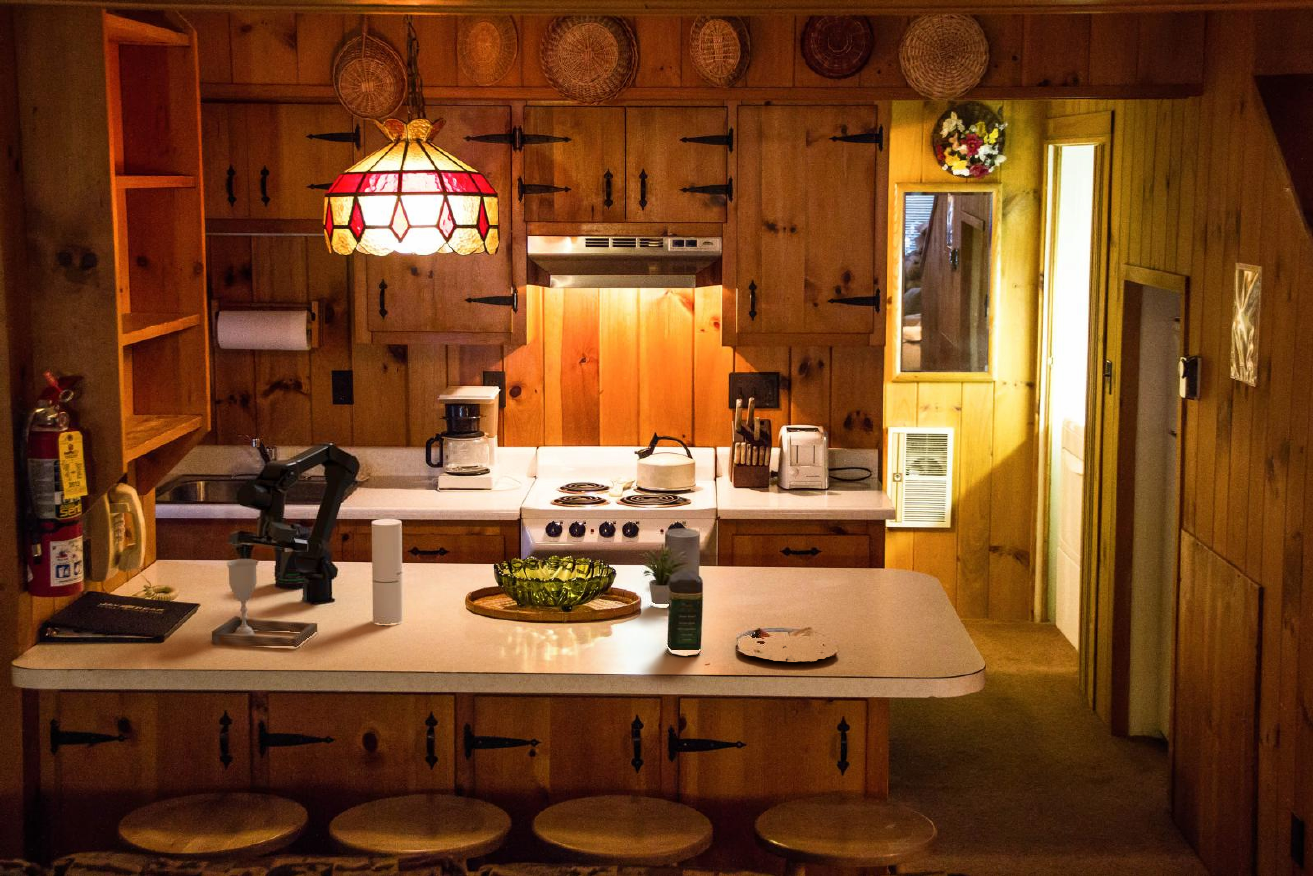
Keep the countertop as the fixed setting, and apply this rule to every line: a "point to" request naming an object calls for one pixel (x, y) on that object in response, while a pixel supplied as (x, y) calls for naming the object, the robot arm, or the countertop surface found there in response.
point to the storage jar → (292, 576)
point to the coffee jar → (685, 611)
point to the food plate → (792, 632)
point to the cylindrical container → (387, 571)
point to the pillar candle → (684, 548)
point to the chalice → (243, 587)
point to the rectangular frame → (226, 636)
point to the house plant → (662, 574)
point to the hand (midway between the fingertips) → (264, 577)
